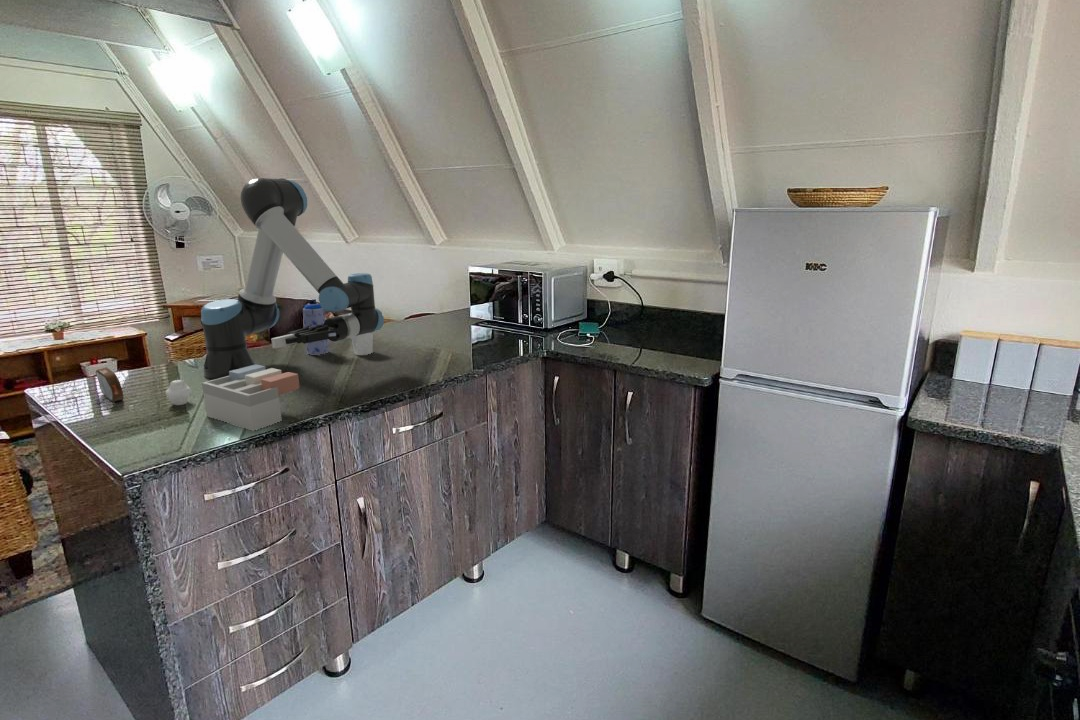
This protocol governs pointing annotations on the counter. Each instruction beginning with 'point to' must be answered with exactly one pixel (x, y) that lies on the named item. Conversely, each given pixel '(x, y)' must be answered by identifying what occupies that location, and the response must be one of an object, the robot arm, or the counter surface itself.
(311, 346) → the aerosol can
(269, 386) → the terracotta key
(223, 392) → the grey slotted rack
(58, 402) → the counter surface
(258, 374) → the ivory key
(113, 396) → the tin
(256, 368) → the blue-grey rectangular block
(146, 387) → the counter surface
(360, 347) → the white cup
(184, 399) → the muffin
